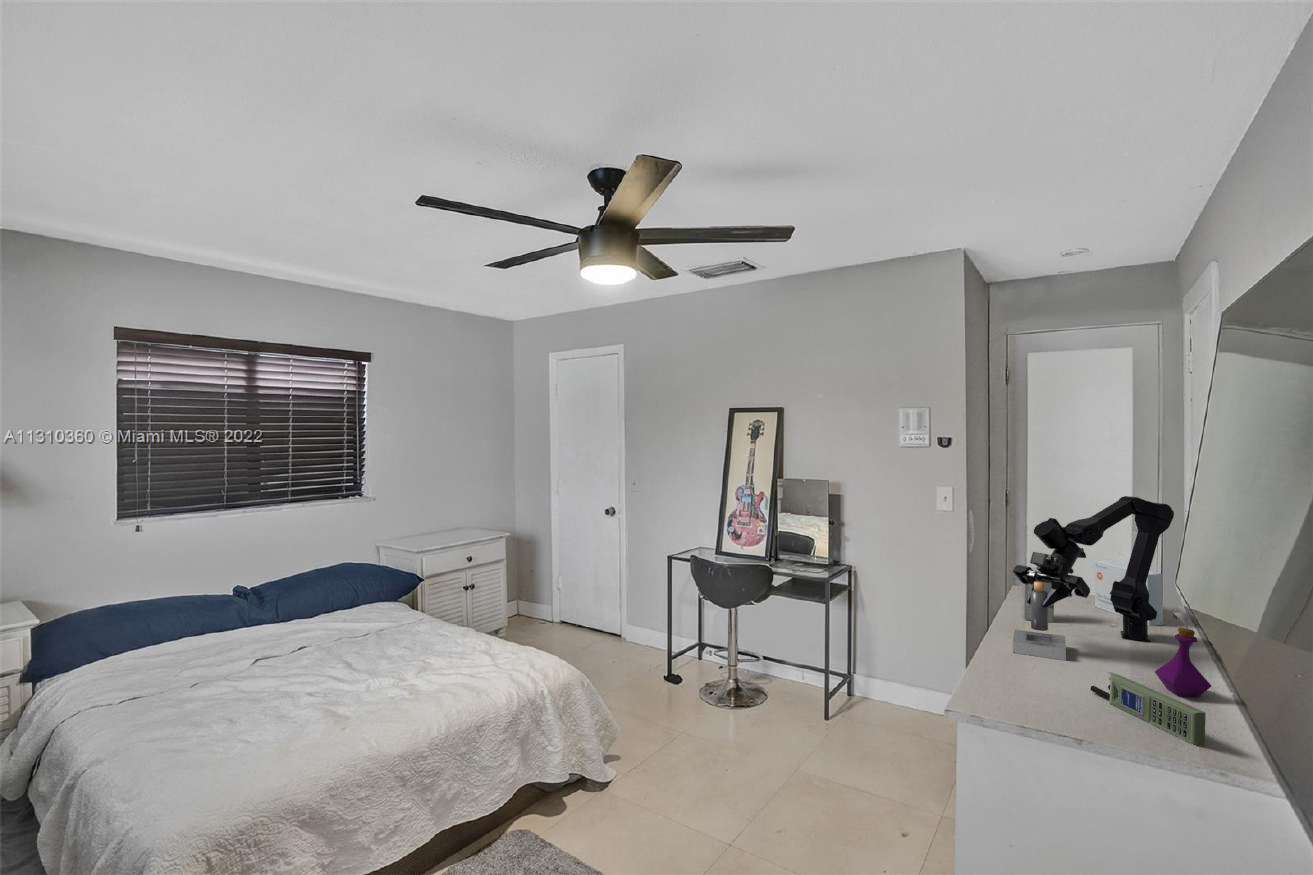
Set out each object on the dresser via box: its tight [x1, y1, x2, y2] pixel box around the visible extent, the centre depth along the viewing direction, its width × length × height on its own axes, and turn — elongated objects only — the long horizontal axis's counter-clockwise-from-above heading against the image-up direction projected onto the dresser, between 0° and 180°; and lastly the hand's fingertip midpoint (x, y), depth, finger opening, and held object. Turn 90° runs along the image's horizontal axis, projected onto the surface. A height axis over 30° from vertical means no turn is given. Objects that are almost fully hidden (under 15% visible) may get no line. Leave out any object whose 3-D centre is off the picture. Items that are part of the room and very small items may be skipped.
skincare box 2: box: [1093, 559, 1164, 627], centre depth 204 cm, size 21×6×16 cm, turn 6°
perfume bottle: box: [1154, 612, 1212, 698], centre depth 144 cm, size 8×8×18 cm
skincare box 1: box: [1021, 566, 1055, 623], centre depth 202 cm, size 8×7×16 cm
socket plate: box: [1012, 629, 1067, 661], centre depth 173 cm, size 12×12×3 cm
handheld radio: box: [1090, 671, 1206, 747], centre depth 133 cm, size 7×3×25 cm
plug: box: [1030, 581, 1049, 632], centre depth 173 cm, size 4×4×12 cm
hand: (1035, 604), depth 173 cm, fingers closed on plug, 4 cm apart
